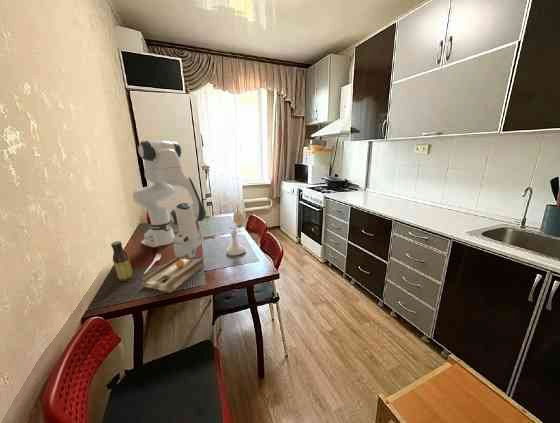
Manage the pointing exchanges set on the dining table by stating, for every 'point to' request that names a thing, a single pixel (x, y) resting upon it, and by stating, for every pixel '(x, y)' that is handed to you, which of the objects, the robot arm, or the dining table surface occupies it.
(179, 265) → the ball
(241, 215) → the flower in vase
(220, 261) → the dining table surface
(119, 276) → the sauce bottle
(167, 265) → the beige tray
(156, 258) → the fork
